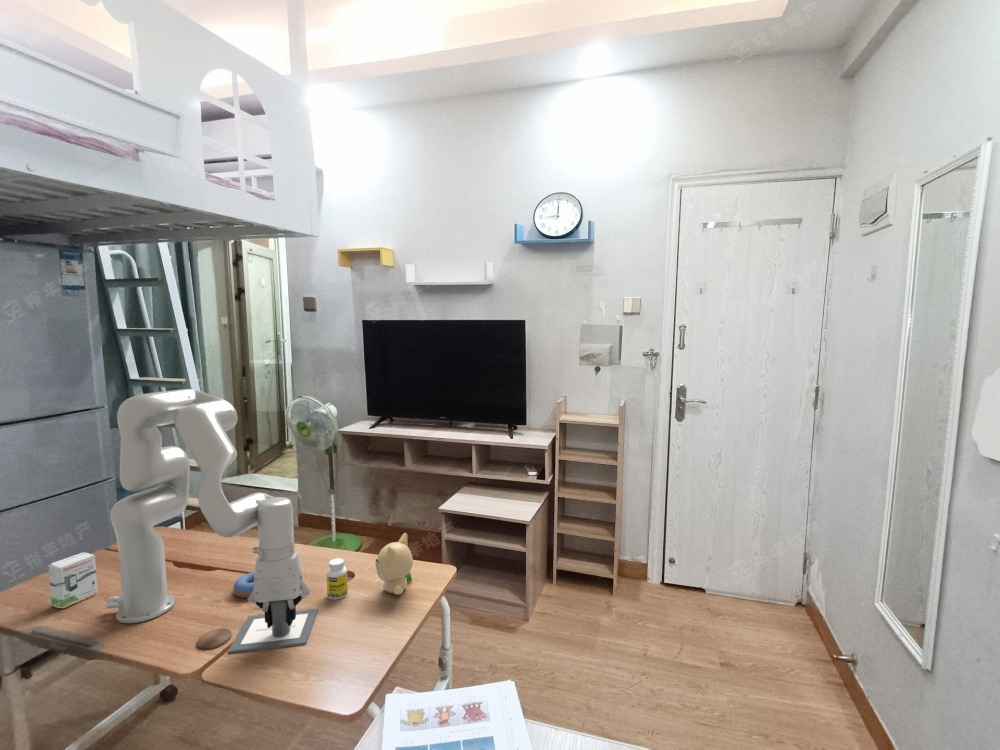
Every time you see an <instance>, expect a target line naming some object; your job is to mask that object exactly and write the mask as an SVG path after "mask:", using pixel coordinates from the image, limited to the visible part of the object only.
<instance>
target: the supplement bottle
mask: <svg viewBox="0 0 1000 750" xmlns="http://www.w3.org/2000/svg"><path fill="white" fill-rule="evenodd" d="M328 567H329V568H328V569H327V570H326V595H327V598H328V599H329V600H339V599H343V598H344V597H346V596H347V595H348V588H349V587H348V569H347V567H346V566H345V559H343V558H342V557H341V558H339V557H336V558H333V559H331V560H330V561H329V562H328Z"/></svg>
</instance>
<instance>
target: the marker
mask: <svg viewBox="0 0 1000 750" xmlns="http://www.w3.org/2000/svg"><path fill="white" fill-rule="evenodd" d="M288 606H289V605H288V601H287V600H281V601H271V620H272V635H273V636H274V637H281V636H284V635H286V634H288V633H289V632H290V626H288V622H287V610H288Z"/></svg>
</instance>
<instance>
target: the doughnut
mask: <svg viewBox="0 0 1000 750" xmlns="http://www.w3.org/2000/svg"><path fill="white" fill-rule="evenodd" d="M254 572H255V571H251V572H248V573H246V574H244V575H241V576H240V577H239V578H237V579H236V580H235V582H234V583H233V593H234V595H235V596H237V597H238V598H242V599H248V598H249V596H250V594H251V593H252V591H253V590H254Z"/></svg>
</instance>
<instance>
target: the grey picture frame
mask: <svg viewBox="0 0 1000 750" xmlns="http://www.w3.org/2000/svg"><path fill="white" fill-rule="evenodd" d="M318 611H319V608H313V609H302V610H296V618H295V620H293V622H292V624H291V626H290V632H289V633H288V634H286V635H284V636H281V637H274V636H273V635H272V626H271V627H270V628H267V623H265V613H264V614H255V615H248V616H247V618H246V619H245V622H243V625H242V626H241V628H240V630H239V632H238V633H237V635H236V637H235V638H234V640H233V642H232V644H231V645H230V647H229V648H228V650H227V654H234V653H243V652H250V651H251V652H252V651H261V650H268V649H269V650H270V649H276V648H277V649H278V648H284V647H285V648H286V647H293V646H294V647H295V646H303V645H307V644H308V641H309V638H310V635H311V632H312V629H313V626H314V624H315V619H316V617H317V614H318Z"/></svg>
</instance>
